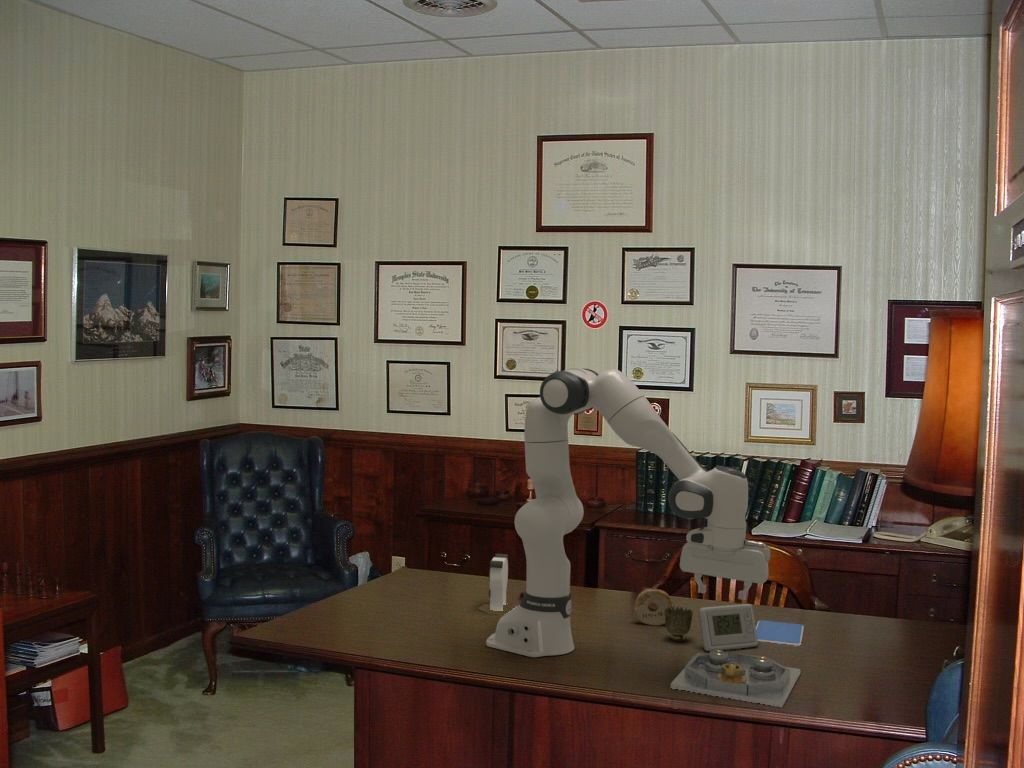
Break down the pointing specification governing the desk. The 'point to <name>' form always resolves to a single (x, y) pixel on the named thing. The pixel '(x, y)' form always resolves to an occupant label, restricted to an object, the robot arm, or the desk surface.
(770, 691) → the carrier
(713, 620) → the digital clock
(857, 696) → the desk surface
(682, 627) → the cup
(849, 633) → the desk surface
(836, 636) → the desk surface
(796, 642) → the tablet computer
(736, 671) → the flanged octagonal bushing
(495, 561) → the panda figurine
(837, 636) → the desk surface
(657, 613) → the stone disc
